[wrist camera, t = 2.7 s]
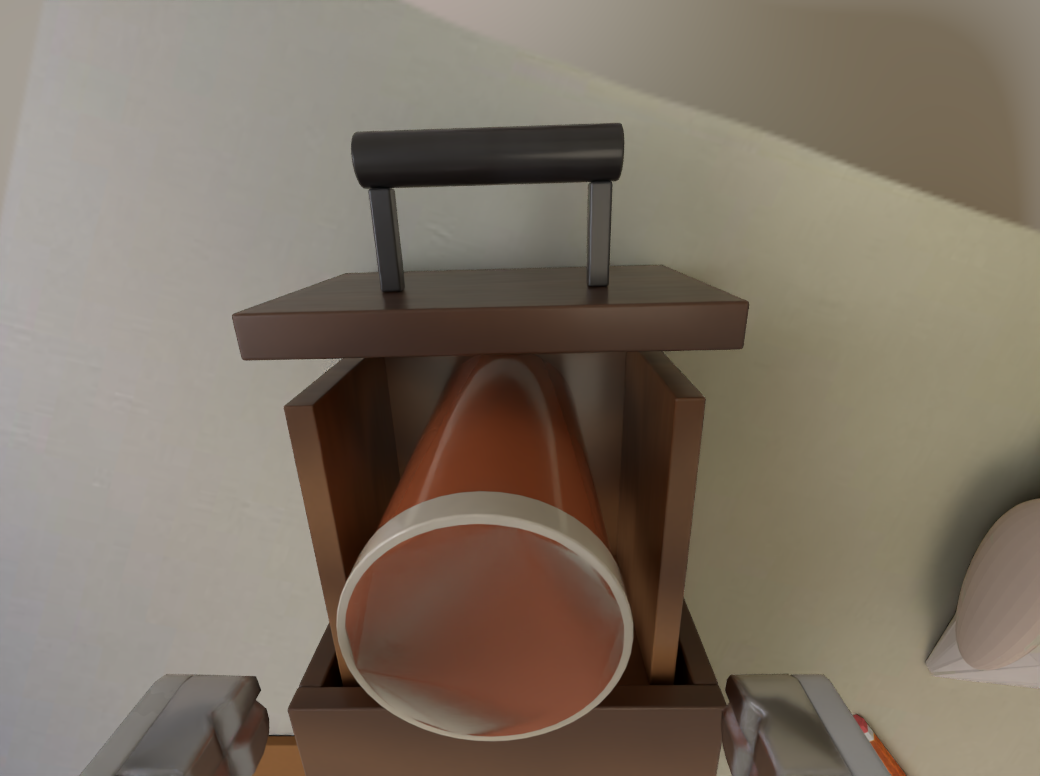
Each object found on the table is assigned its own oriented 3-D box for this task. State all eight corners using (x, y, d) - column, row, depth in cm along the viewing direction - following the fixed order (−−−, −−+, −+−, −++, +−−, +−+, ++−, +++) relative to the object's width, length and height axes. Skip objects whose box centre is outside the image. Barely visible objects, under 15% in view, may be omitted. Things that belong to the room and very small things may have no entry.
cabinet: (376, 522, 24) (286, 709, 15) (652, 518, 24) (729, 707, 15) (408, 727, 29) (354, 959, 20) (636, 726, 29) (685, 961, 20)
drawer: (326, 154, 18) (182, 115, 10) (672, 142, 17) (779, 95, 10) (386, 555, 24) (323, 711, 16) (642, 552, 23) (695, 709, 16)
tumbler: (442, 478, 21) (358, 743, 11) (429, 348, 19) (311, 517, 9) (577, 476, 21) (626, 742, 10) (579, 344, 19) (642, 512, 8)
